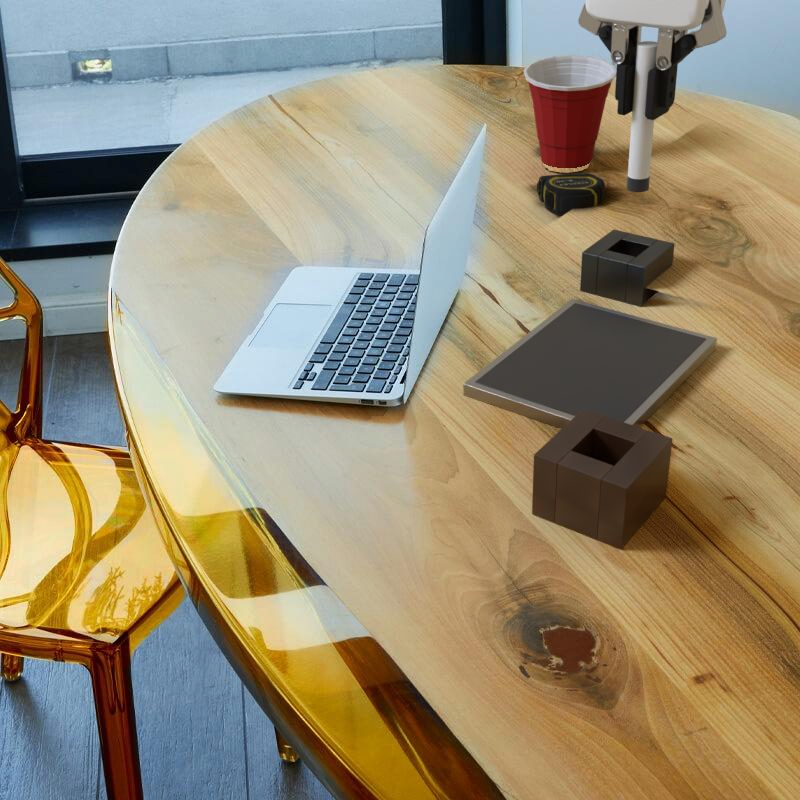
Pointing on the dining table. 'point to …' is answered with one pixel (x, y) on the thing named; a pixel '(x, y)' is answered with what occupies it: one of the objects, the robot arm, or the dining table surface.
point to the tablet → (591, 366)
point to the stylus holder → (625, 266)
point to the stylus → (641, 121)
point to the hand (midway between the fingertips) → (643, 111)
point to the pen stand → (601, 477)
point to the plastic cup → (568, 106)
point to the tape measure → (570, 192)
